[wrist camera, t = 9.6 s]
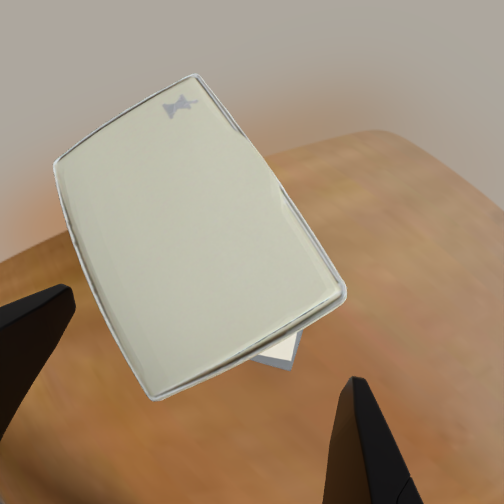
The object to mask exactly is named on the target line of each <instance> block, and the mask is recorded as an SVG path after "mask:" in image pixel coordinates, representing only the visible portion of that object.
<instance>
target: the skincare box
mask: <svg viewBox="0 0 504 504" xmlns="http://www.w3.org/2000/svg"><path fill="white" fill-rule="evenodd" d="M53 171H54V176H55V181H56V187H57V191H58V195H59V199H60V203H61V207H62V211H63V214H64V218H65V221H66V225H67V228H68V231H69V234H70V237H71V240H72V243H73V245H74V248H75V251H76V253H77V256H78V259H79V262H80V264H81V267H82V269H83V272H84V274H85V277H86V279H87V282H88V284H89V286H90V289H91V291H92V293H93V296H94V298H95V300H96V303H97V305H98V307H99V309H100V311H101V313H102V315H103V317H104V319H105V322H106V324H107V326H108V328H109V330H110V332H111V334H112V336H113V338H114V339H115V341H116V343H117V345H118V347H119V348H120V350H121V352H122V354H123V356H124V358H125V360H126V362H127V363H128V365H129V367H130V368H131V370H132V372H133V373H134V375H135V377H136V378H137V380H138V382H139V383H140V385H141V387H142V388H143V390H144V392H145V393H146V395H147V397H148V398H149V399H150V400H151V401H161V400H163V399H165V398H168V397H170V396H172V395H174V394H176V393H179V392H181V391H183V390H185V389H188V388H190V387H192V386H195V385H197V384H199V383H201V382H204V381H206V380H208V379H210V378H213V377H215V376H217V375H219V374H221V373H223V372H225V371H227V370H229V369H231V368H233V367H235V366H237V365H239V364H241V363H243V362H245V361H247V360H249V359H251V358H253V357H255V356H256V355H258V354H260V353H262V352H264V351H266V350H267V349H269V348H271V347H273V346H275V345H277V344H278V343H280V342H282V341H284V340H285V339H287V338H289V337H291V336H292V335H294V334H296V333H297V332H299V331H300V330H302V329H304V328H305V327H307V326H309V325H310V324H312V323H313V322H315V321H317V320H318V319H320V318H322V317H323V316H325V315H326V314H328V313H330V312H331V311H333V310H334V309H336V308H337V307H339V306H340V305H342V304H343V303H344V302H345V300H346V298H347V287H346V285H345V282H344V281H343V279H342V278H341V276H340V275H339V273H338V271H337V270H336V268H335V267H334V265H333V263H332V262H331V260H330V258H329V257H328V255H327V253H326V252H325V250H324V249H323V247H322V245H321V244H320V242H319V241H318V239H317V238H316V236H315V234H314V233H313V231H312V230H311V228H310V227H309V225H308V224H307V222H306V221H305V219H304V218H303V216H302V215H301V213H300V211H299V210H298V208H297V207H296V205H295V204H294V203H293V201H292V200H291V198H290V197H289V196H288V194H287V193H286V191H285V189H284V188H283V186H282V185H281V183H280V181H279V180H278V179H277V177H276V176H275V174H274V173H273V171H272V170H271V169H270V167H269V166H268V164H267V163H266V162H265V160H264V159H263V157H262V156H261V155H260V153H259V152H258V151H257V149H256V148H255V147H254V145H253V144H252V143H251V141H250V140H249V139H248V137H247V136H246V135H245V133H244V132H243V131H242V130H241V128H240V127H239V125H238V124H237V123H236V121H235V120H234V119H233V117H232V116H231V114H230V113H229V112H228V111H227V109H226V108H225V107H224V106H223V104H222V103H221V101H220V100H219V99H218V97H217V96H216V95H215V94H214V92H213V91H212V90H211V89H210V88H209V86H208V85H207V84H206V82H205V81H204V80H203V79H202V77H201V76H200V75H199V74H197V73H193V74H191V75H189V76H186V77H184V78H182V79H180V80H179V81H177V82H175V83H173V84H172V85H170V86H168V87H166V88H164V89H161V90H159V91H158V92H156V93H154V94H153V95H151V96H149V97H147V98H145V99H143V100H142V101H140V102H138V103H137V104H135V105H133V106H132V107H130V108H128V109H127V110H125V111H123V112H122V113H120V114H119V115H117V116H115V117H114V118H112V119H111V120H109V121H108V122H106V123H105V124H103V125H102V126H100V127H99V128H97V129H96V130H94V131H93V132H91V133H90V134H88V135H87V136H86V137H84V138H83V139H81V140H80V141H79V142H78V143H76V144H75V145H74V146H73V147H72V148H70V149H69V150H68V151H67V152H65V153H64V154H63V155H61V156H60V157H58V158H57V159H56V160H55V161H54V164H53Z"/></svg>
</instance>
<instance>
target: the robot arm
mask: <svg viewBox="0 0 504 504" xmlns="http://www.w3.org/2000/svg"><path fill="white" fill-rule="evenodd" d="M75 309H76V304H75V300H74V296H73V291H72V289H71V288H70V287H69V286H66V285H64V284H58V285H56V286H53V287H50V288H48V289H45V290H43V291H40V292H37V293H35V294H32V295H30V296H27V297H25V298H22V299H20V300H17V301H15V302H12V303H10V304H7V305H5V306H2V307H0V440H1V438H2V437H3V434H4V433H5V431H6V429H7V427H8V425H9V423H10V422H11V420H12V418H13V416H14V414H15V413H16V411H17V409H18V407H19V406H20V404H21V402H22V400H23V399H24V397H25V395H26V394H27V392H28V390H29V389H30V387H31V385H32V384H33V382H34V380H35V379H36V377H37V376H38V374H39V372H40V371H41V369H42V368H43V366H44V365H45V363H46V361H47V360H48V358H49V357H50V355H51V354H52V352H53V351H54V349H55V347H56V346H57V344H58V342H59V340H60V338H61V336H62V335H63V333H64V331H65V329H66V327H67V325H68V323H69V322H70V320H71V318H72V316H73V314H74V313H75ZM322 504H424V503H423V501H422V499H421V497H420V495H419V493H418V491H417V488H416V486H415V484H414V482H413V479H412V477H410V473H409V471H408V468H407V466H406V464H405V462H404V459H403V457H402V455H401V453H400V450H399V448H398V446H397V444H396V442H395V440H394V437H393V435H392V433H391V431H390V429H389V427H388V425H387V422H386V420H385V418H384V416H383V414H382V412H381V410H380V408H379V406H378V403H377V401H376V399H375V397H374V395H373V393H372V391H371V389H370V387H369V385H368V383H367V381H366V380H365V379H364V378H361V377H356V376H352V377H351V378H350V379H349V380H348V382H347V384H346V385H345V387H344V388H343V390H342V391H341V393H340V396H339V401H338V406H337V411H336V416H335V421H334V425H333V430H332V435H331V440H330V445H329V454H328V463H327V472H326V480H325V488H324V495H323V502H322Z"/></svg>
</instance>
